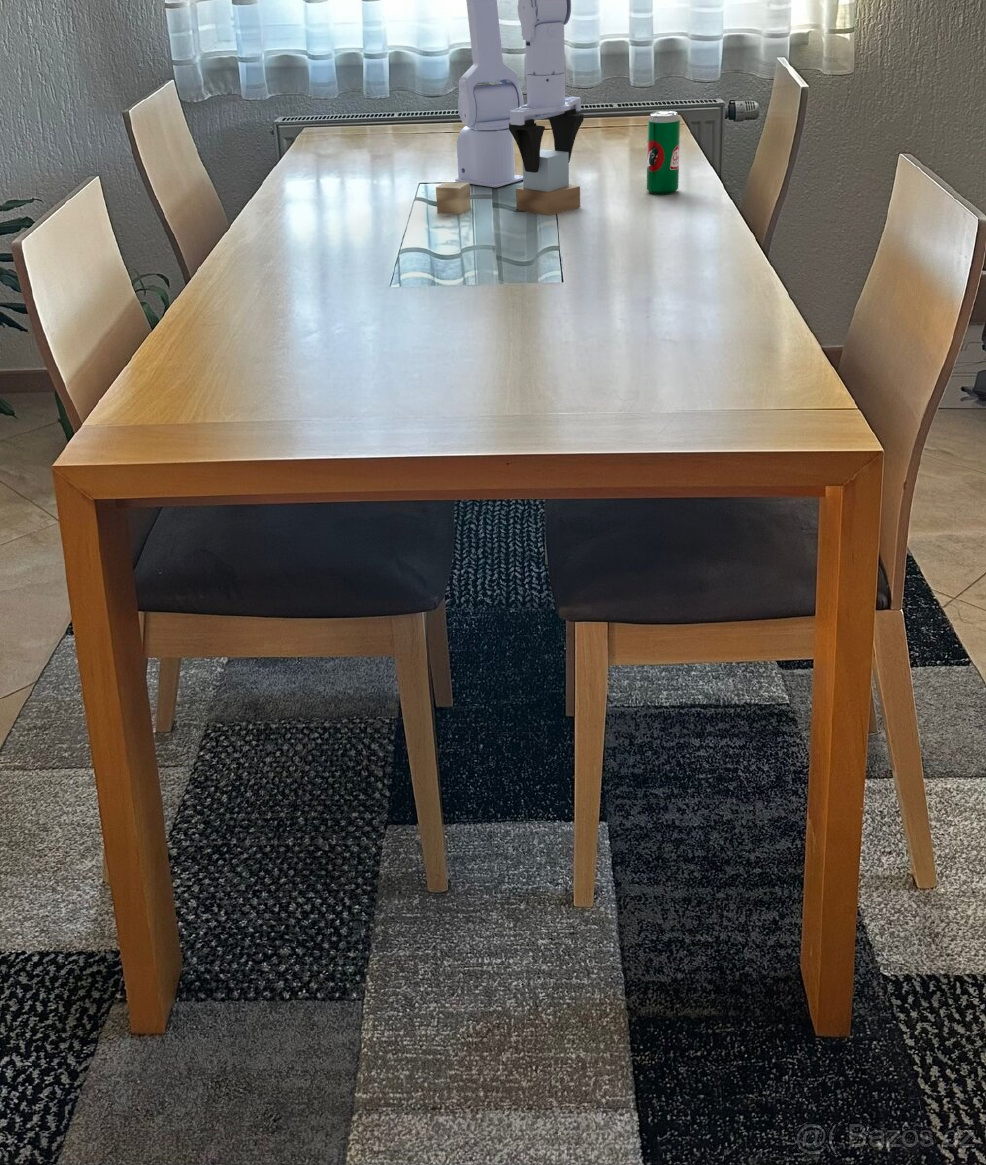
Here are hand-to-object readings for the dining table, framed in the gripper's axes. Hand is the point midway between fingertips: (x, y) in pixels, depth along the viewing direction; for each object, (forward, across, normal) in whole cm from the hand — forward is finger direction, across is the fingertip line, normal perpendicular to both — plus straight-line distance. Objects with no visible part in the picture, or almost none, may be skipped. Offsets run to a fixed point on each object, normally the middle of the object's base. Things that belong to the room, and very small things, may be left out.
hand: (547, 167), depth 197 cm
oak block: (+6, -9, +12) cm, 16 cm away
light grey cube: (+3, 0, 0) cm, 3 cm away
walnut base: (+6, 0, 0) cm, 7 cm away
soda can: (+6, +18, -9) cm, 21 cm away
